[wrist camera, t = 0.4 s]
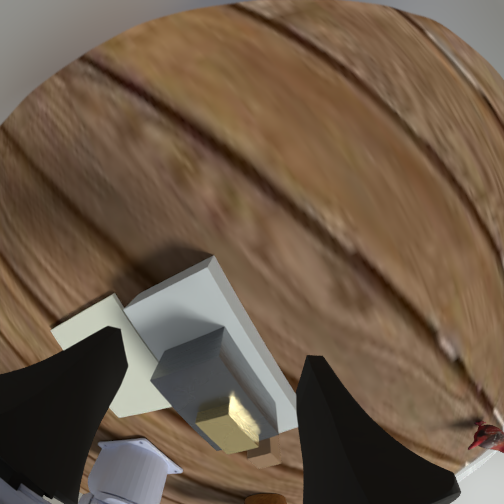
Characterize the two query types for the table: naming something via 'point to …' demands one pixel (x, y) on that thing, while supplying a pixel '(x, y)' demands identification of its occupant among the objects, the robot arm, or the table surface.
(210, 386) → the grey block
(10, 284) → the table surface
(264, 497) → the disposable coffee cup
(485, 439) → the decorative bird figurine
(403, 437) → the table surface
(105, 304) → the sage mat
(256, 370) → the white rectangular block
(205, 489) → the table surface
